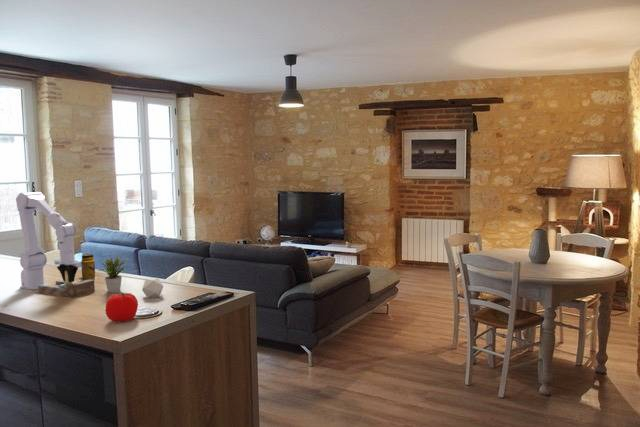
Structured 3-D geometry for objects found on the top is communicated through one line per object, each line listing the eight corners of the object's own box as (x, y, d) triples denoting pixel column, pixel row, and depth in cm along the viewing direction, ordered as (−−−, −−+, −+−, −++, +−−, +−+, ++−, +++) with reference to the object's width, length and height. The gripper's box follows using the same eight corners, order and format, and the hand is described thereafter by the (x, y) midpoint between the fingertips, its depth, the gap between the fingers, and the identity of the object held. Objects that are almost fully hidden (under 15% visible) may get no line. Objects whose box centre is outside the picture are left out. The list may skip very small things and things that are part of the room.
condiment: (97, 279, 260) (96, 255, 258) (78, 281, 255) (77, 257, 254) (94, 276, 266) (93, 252, 264) (76, 278, 261) (74, 254, 260)
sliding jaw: (58, 289, 233) (57, 271, 232) (71, 286, 238) (70, 268, 238) (67, 290, 230) (65, 272, 230) (79, 287, 236) (78, 269, 236)
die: (162, 294, 232) (148, 277, 231) (170, 288, 226) (156, 270, 226) (148, 305, 226) (134, 287, 225) (156, 298, 220) (142, 280, 220)
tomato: (122, 327, 186) (121, 298, 185) (98, 323, 191) (96, 295, 189) (146, 317, 197) (145, 290, 196) (123, 314, 201) (121, 287, 200)
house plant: (128, 294, 230) (127, 257, 228) (95, 296, 227) (92, 259, 225) (133, 286, 244) (131, 251, 242) (101, 288, 241) (99, 253, 239)
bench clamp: (37, 292, 235) (36, 281, 234) (60, 286, 246) (59, 275, 245) (72, 297, 226) (71, 286, 225) (94, 291, 236) (94, 280, 236)
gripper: (47, 251, 232) (49, 281, 234) (71, 253, 226) (72, 284, 227) (61, 249, 238) (63, 278, 240) (84, 251, 232) (86, 281, 234)
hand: (68, 281), depth 234 cm, fingers closed on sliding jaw, 3 cm apart
